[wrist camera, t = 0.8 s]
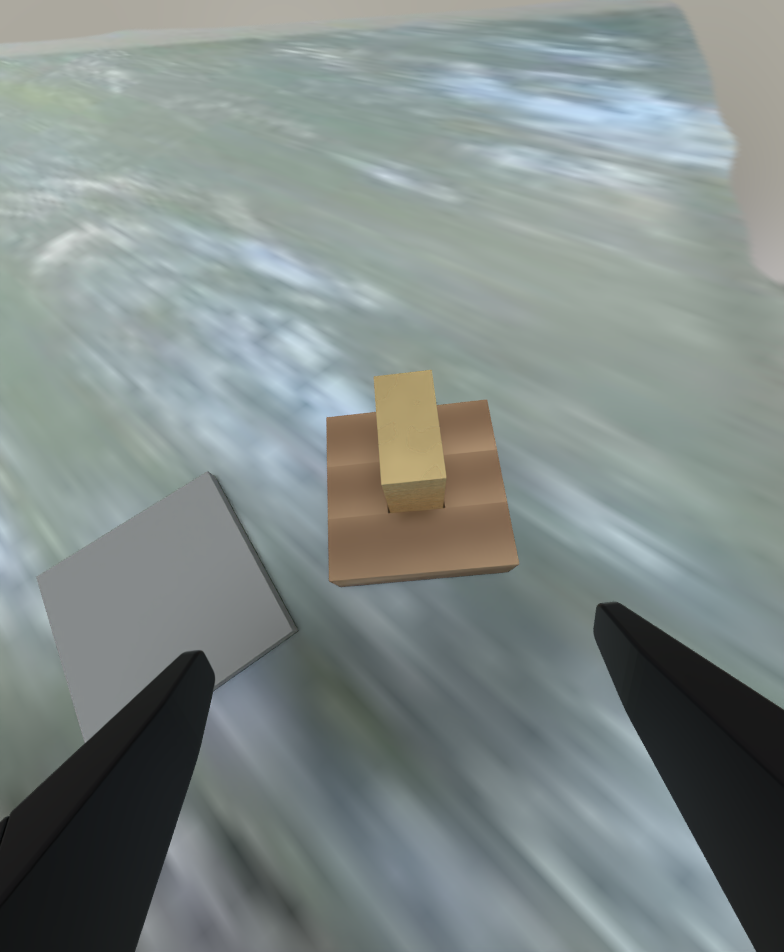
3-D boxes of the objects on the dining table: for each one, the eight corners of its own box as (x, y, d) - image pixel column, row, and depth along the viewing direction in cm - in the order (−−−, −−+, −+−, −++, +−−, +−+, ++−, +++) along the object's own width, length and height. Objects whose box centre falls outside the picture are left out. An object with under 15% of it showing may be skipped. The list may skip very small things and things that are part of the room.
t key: (439, 536, 24) (446, 478, 15) (399, 540, 24) (381, 484, 15) (430, 462, 26) (431, 369, 17) (392, 466, 26) (373, 376, 17)
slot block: (508, 572, 23) (519, 564, 20) (340, 587, 23) (328, 581, 21) (480, 423, 27) (487, 399, 24) (336, 439, 27) (326, 417, 24)
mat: (298, 630, 23) (292, 630, 22) (107, 765, 21) (93, 772, 20) (214, 476, 27) (207, 471, 26) (50, 578, 25) (36, 576, 24)
